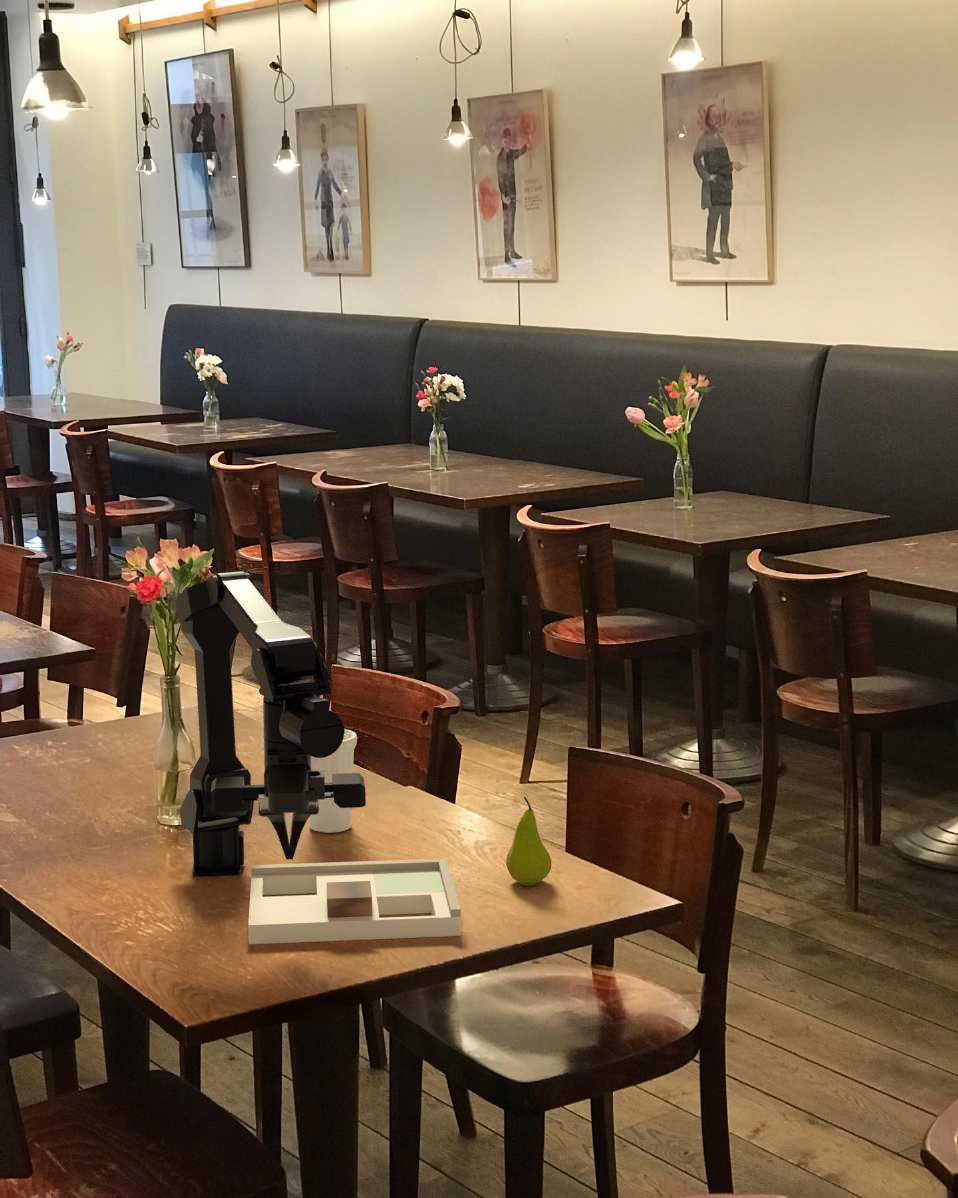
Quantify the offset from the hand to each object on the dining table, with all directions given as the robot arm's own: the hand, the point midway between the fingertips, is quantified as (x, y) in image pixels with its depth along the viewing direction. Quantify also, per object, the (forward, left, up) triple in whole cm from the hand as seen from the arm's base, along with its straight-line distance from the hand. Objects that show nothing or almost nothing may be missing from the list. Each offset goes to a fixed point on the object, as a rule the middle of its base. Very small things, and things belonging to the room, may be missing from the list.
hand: (289, 858), depth 198 cm
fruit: (+32, +13, -10) cm, 36 cm away
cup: (+6, +38, -10) cm, 39 cm away
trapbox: (+8, +5, -9) cm, 13 cm away
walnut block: (+7, 0, -7) cm, 10 cm away
